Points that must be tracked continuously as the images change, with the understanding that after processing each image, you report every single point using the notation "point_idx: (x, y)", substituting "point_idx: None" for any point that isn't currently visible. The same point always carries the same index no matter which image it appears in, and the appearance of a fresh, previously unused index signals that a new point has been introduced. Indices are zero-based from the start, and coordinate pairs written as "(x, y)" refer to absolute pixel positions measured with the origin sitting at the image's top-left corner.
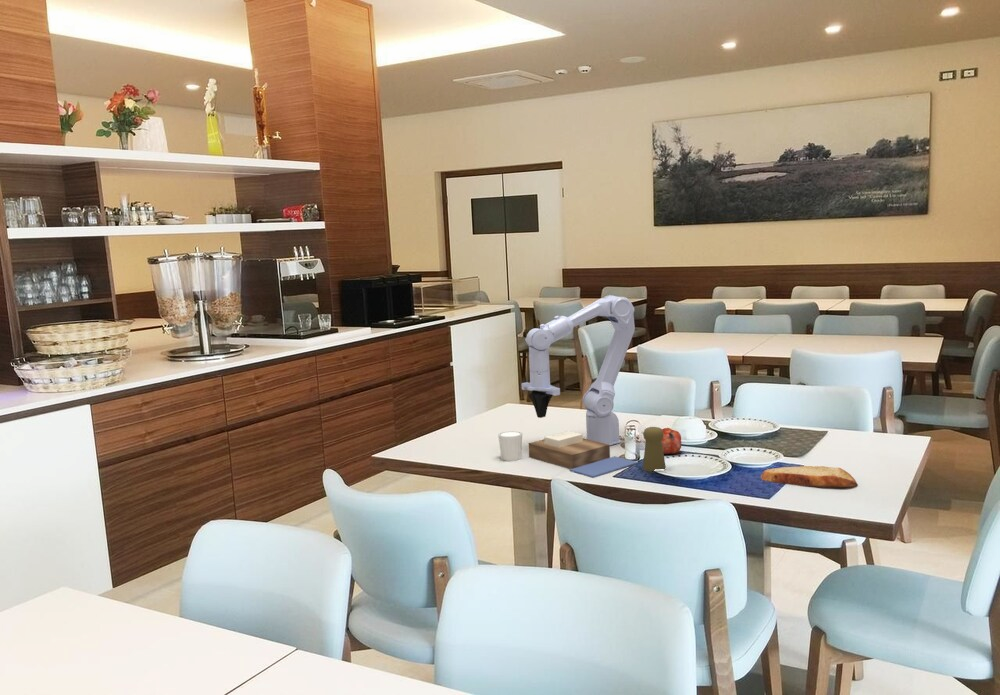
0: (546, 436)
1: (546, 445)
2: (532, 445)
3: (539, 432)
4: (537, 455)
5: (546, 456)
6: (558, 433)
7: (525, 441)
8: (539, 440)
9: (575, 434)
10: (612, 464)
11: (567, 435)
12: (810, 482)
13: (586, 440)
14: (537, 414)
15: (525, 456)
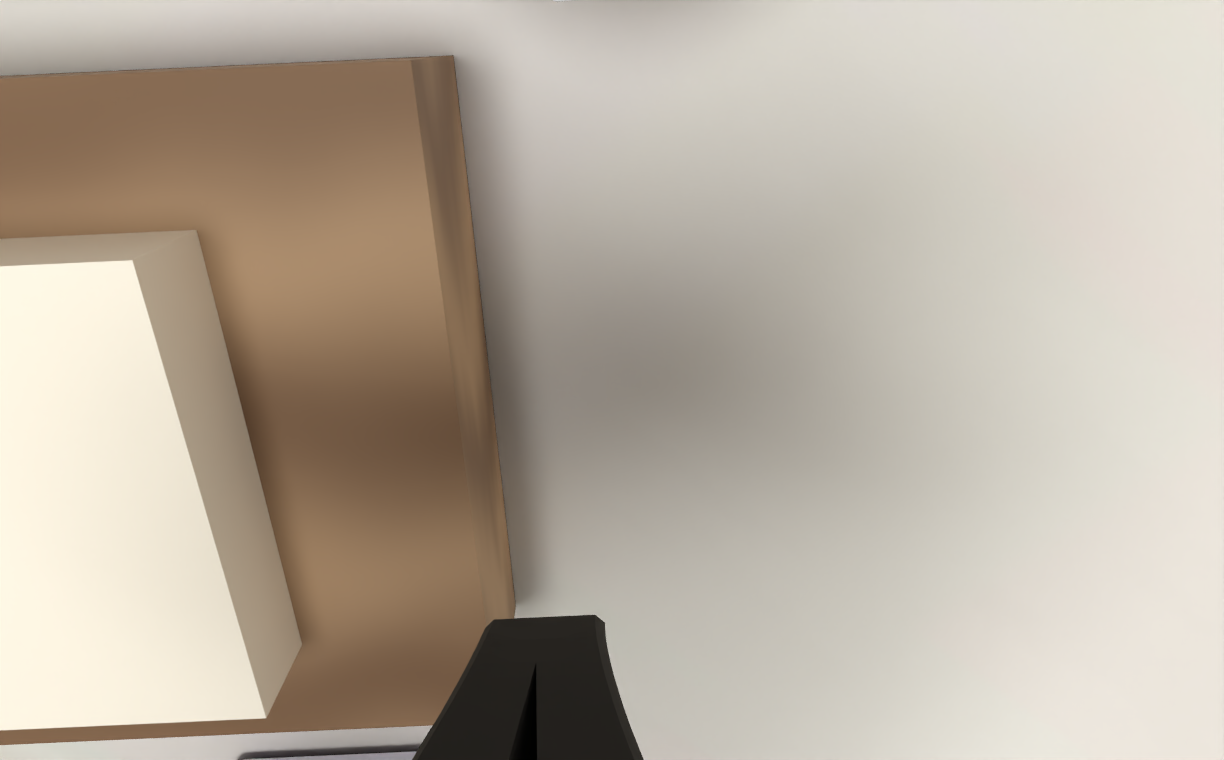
0: (147, 313)
1: (89, 192)
2: (310, 64)
3: (1155, 750)
4: (250, 65)
5: (37, 75)
6: (216, 560)
7: (1048, 472)
8: (440, 307)
9: (2, 675)
10: None
11: (7, 574)
12: None
13: None
14: (564, 656)
15: (518, 40)
